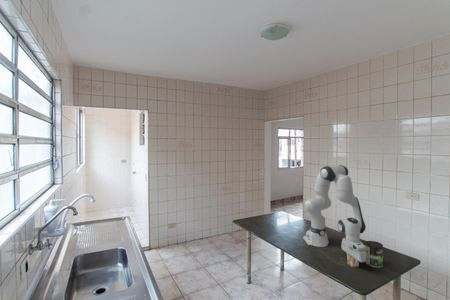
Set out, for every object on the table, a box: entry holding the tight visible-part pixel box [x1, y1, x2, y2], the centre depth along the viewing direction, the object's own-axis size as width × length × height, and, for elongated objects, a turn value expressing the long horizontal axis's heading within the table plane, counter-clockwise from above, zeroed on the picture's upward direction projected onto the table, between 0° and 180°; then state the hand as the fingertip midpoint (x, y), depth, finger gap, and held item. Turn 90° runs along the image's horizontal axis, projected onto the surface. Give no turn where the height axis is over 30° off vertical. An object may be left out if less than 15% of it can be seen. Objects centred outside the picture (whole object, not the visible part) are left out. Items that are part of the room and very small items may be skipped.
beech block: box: [346, 254, 360, 268], centre depth 164 cm, size 5×5×6 cm
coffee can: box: [365, 240, 384, 268], centre depth 164 cm, size 10×10×14 cm
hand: (353, 261), depth 164 cm, fingers closed on beech block, 5 cm apart
